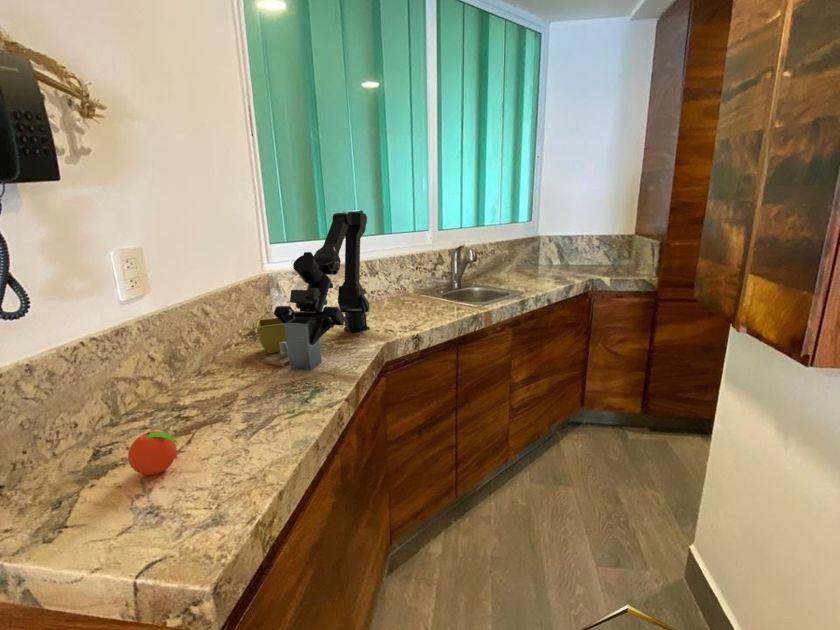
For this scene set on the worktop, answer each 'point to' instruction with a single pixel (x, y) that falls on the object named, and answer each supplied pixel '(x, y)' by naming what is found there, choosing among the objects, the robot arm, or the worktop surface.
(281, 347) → the tan piece
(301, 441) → the worktop surface
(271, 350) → the flower pot
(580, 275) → the worktop surface
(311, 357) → the open square box
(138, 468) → the clementine
